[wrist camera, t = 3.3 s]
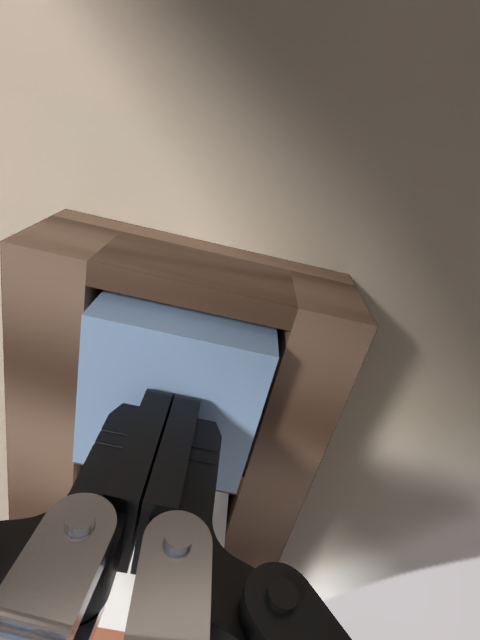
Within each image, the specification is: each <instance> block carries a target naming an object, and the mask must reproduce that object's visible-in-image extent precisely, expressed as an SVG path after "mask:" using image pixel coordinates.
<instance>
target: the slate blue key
mask: <svg viewBox="0 0 480 640" xmlns="http://www.w3.org/2000/svg"><path fill="white" fill-rule="evenodd" d="M278 360H279V349H278V337H277V328H274V327H269V326H265V325H260V324H256V323H251V322H246V321H242V320H237V319H233V318H228V317H224V316H219V315H215V314H210V313H206V312H201V311H197V310H192V309H188V308H183V307H179V306H174V305H170V304H165V303H161V302H156V301H152V300H147V299H143V298H138V297H133V296H129V295H124V294H120V293H115V292H111V291H106V290H103V291H102V292H101V293H100V294H99V296H98V297H97V298H96V299H95V300H94V301H93V302H92V303H91V305H90V306H89V307H88V308H87V309H86V310H85V311H84V313H83V314H82V316H81V332H80V348H79V364H78V381H77V397H76V413H75V429H74V445H73V461H72V462H76V463H81V464H84V462H85V460H86V458H87V456H88V454H89V452H90V450H91V448H92V446H93V444H95V440H96V438H97V437H98V435H99V433H100V431H101V429H102V427H103V425H104V423H105V421H106V419H107V417H108V415H109V413H111V412H112V411H113V410H115V409H116V408H117V407H118V406H120V405H121V404H122V403H126V404H131V405H136V406H140V404H141V401H142V399H143V397H144V394H145V392H146V390H147V388H148V389H153V390H158V391H163V392H168V393H172V394H173V400H174V397H175V394H178V395H182V396H187V397H192V398H197V399H201V403H200V407H199V412H198V417H197V418H199V419H204V420H209V421H214V422H216V423H217V426H218V428H219V431H220V433H221V436H222V441H221V450H220V458H219V466H218V475H217V484H216V490H220V491H225V492H230V493H235V494H236V493H237V490H238V487H239V483H240V480H241V477H242V474H243V471H244V468H245V464H246V461H247V458H248V455H249V452H250V449H251V445H252V442H253V439H254V436H255V433H256V429H257V426H258V423H259V420H260V417H261V414H262V410H263V407H264V404H265V401H266V398H267V395H268V391H269V388H270V385H271V382H272V379H273V376H274V372H275V369H276V366H277V363H278ZM173 400H172V404H173ZM171 407H172V406H171Z"/></svg>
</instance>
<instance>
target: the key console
mask: <svg viewBox="0 0 480 640" xmlns="http://www.w3.org/2000/svg"><path fill="white" fill-rule="evenodd" d="M0 260H1V290H2V320H3V350H4V380H5V410H6V440H7V470H8V500H9V520H14V519H23V518H30V517H34V516H37V515H40V514H43V513H45V512H47V511H48V510H49V508H50V507H51V506H52V505H54V504H55V503H56V502H57V501H59V500H60V499H62V498H64V497H66V496H67V495H68V493H69V492H70V490H71V488H72V486H73V484H74V482H75V480H76V478H77V476H78V474H79V472H80V470H81V468H82V466H83V464H81V463H76V462H72V461H73V445H74V429H75V413H76V397H77V381H78V364H79V348H80V332H81V316H82V314H83V313H84V311H85V310H86V309H87V308H88V307H89V306H90V305H91V303H92V302H93V301H94V300H95V299H96V298H97V297H98V296H99V294H100V293H101V292H102V291H103V290H106V291H111V292H115V293H120V294H124V295H129V296H133V297H138V298H143V299H147V300H152V301H156V302H161V303H165V304H170V305H174V306H179V307H183V308H188V309H192V310H197V311H201V312H206V313H210V314H215V315H219V316H224V317H228V318H233V319H237V320H242V321H246V322H251V323H256V324H260V325H265V326H269V327H274V328H277V337H278V349H279V360H278V363H277V366H276V369H275V372H274V376H273V379H272V382H271V385H270V388H269V391H268V395H267V398H266V401H265V404H264V407H263V410H262V414H261V417H260V420H259V423H258V426H257V429H256V433H255V436H254V439H253V442H252V445H251V449H250V452H249V455H248V458H247V461H246V464H245V468H244V471H243V474H242V477H241V480H240V483H239V487H238V490H237V493H236V494H235V493H230V492H225V491H220V490H216V491H217V492H223V493H228V494H229V496H228V508H227V521H226V533H225V546H224V549H225V550H226V551H227V552H229V553H230V554H231V555H233V556H234V557H236V558H237V559H239V560H241V561H243V562H245V563H246V564H248V565H250V566H252V567H254V568H256V567H258V566H259V565H261V564H263V563H267V562H278V561H279V559H280V556H281V554H282V552H283V549H284V547H285V545H286V542H287V540H288V538H289V535H290V533H291V530H292V528H293V526H294V523H295V521H296V519H297V516H298V514H299V512H300V509H301V507H302V505H303V502H304V500H305V497H306V495H307V493H308V490H309V488H310V486H311V483H312V481H313V479H314V476H315V474H316V472H317V469H318V467H319V464H320V462H321V460H322V457H323V455H324V453H325V450H326V448H327V446H328V443H329V441H330V438H331V436H332V434H333V431H334V429H335V427H336V424H337V422H338V420H339V417H340V415H341V413H342V410H343V408H344V405H345V403H346V401H347V398H348V396H349V394H350V391H351V389H352V387H353V384H354V382H355V379H356V377H357V375H358V372H359V370H360V368H361V365H362V363H363V361H364V358H365V356H366V354H367V351H368V349H369V346H370V344H371V342H372V339H373V337H374V335H375V332H376V330H377V328H378V326H377V324H376V322H375V320H374V319H373V317H372V315H371V313H370V311H369V310H368V308H367V306H366V304H365V302H364V301H363V299H362V297H361V295H360V293H359V292H358V290H357V288H356V286H355V284H354V283H353V281H352V279H351V277H350V276H349V275H348V274H344V273H339V272H335V271H331V270H327V269H322V268H318V267H314V266H309V265H305V264H301V263H296V262H292V261H288V260H283V259H279V258H275V257H271V256H266V255H262V254H258V253H253V252H249V251H245V250H240V249H236V248H232V247H227V246H223V245H219V244H215V243H210V242H206V241H202V240H197V239H193V238H189V237H184V236H180V235H176V234H171V233H167V232H163V231H158V230H154V229H150V228H146V227H141V226H137V225H133V224H128V223H124V222H120V221H115V220H111V219H107V218H102V217H98V216H94V215H90V214H85V213H81V212H77V211H72V210H68V209H64V210H62V211H60V212H58V213H56V214H54V215H52V216H50V217H48V218H46V219H44V220H42V221H40V222H38V223H36V224H34V225H32V226H30V227H28V228H26V229H24V230H22V231H20V232H18V233H16V234H14V235H12V236H10V237H8V238H6V239H4V240H2V241H0Z"/></svg>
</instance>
